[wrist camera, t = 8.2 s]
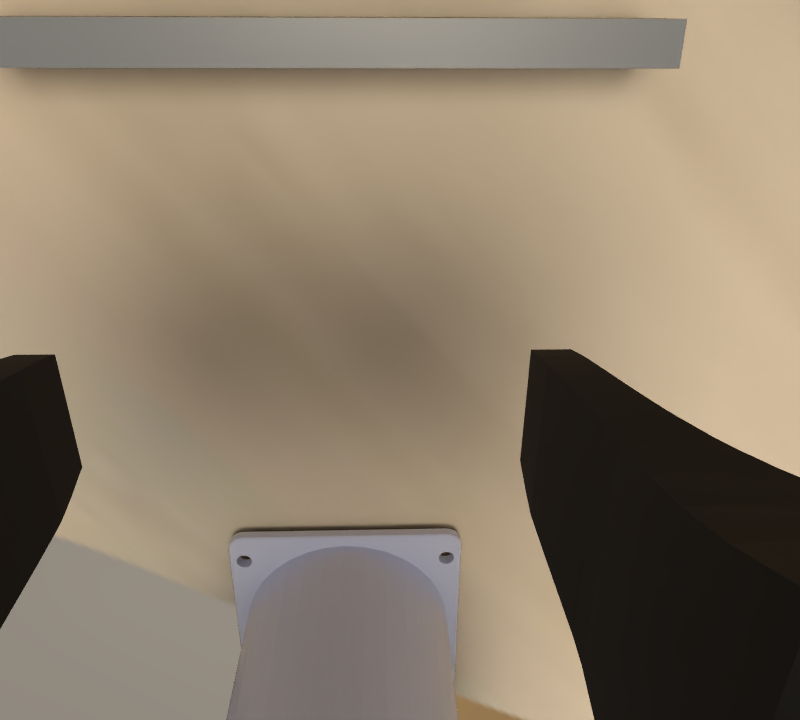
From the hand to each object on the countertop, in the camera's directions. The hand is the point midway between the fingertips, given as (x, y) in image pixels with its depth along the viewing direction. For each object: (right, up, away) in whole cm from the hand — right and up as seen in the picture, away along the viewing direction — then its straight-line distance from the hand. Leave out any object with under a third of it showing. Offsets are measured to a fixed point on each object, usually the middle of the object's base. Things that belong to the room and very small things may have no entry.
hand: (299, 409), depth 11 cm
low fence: (0, +9, +7) cm, 11 cm away
